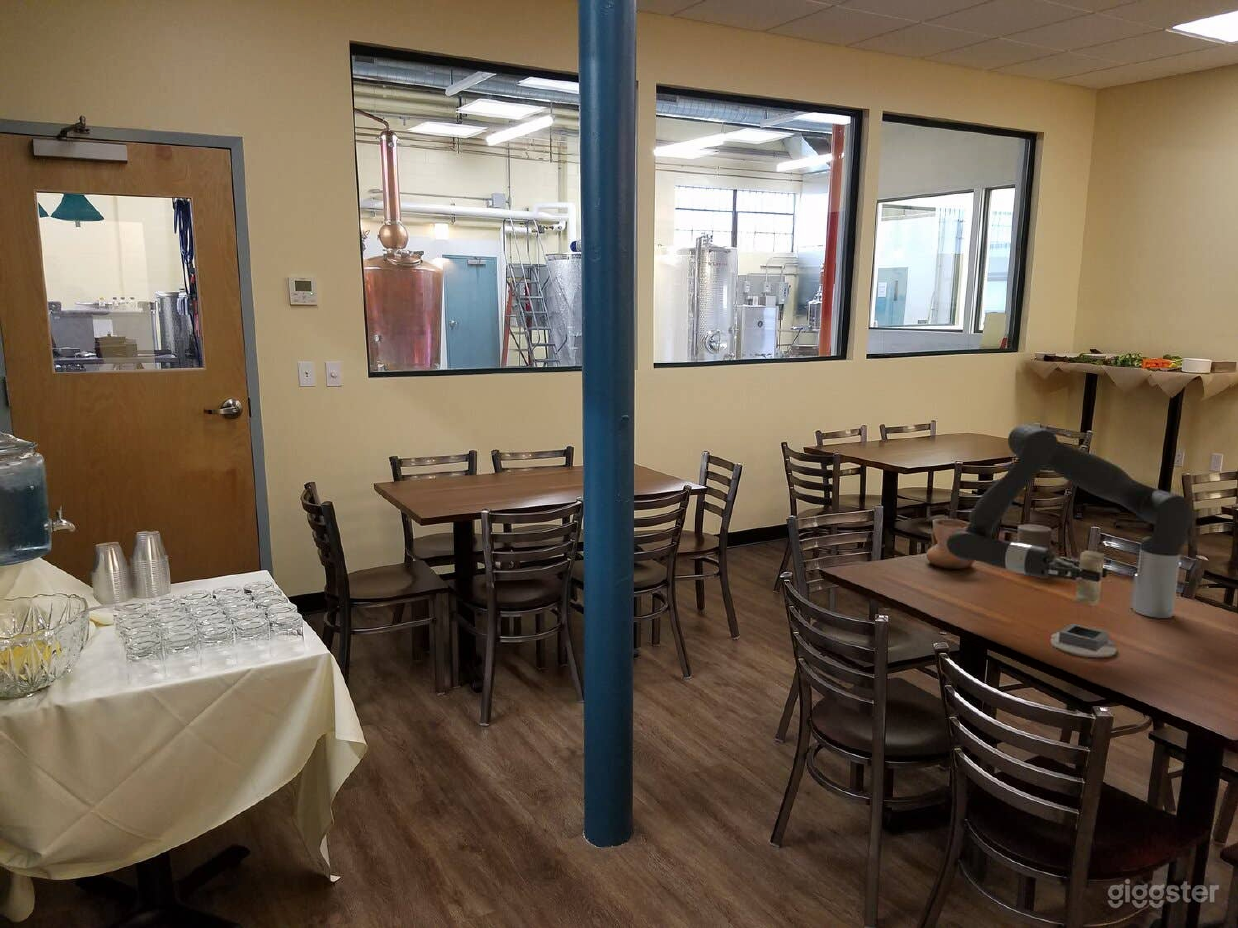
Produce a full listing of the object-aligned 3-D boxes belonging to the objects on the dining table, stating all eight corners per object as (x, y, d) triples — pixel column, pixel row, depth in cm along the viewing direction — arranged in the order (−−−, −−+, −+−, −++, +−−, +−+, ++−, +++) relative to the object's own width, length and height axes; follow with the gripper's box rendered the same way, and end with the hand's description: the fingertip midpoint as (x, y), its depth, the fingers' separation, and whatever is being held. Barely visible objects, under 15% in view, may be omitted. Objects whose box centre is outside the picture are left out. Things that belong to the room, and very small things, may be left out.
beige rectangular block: (1075, 601, 208) (1080, 553, 205) (1081, 597, 210) (1086, 550, 208) (1093, 605, 205) (1099, 556, 203) (1098, 601, 207) (1104, 553, 205)
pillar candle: (1055, 573, 268) (1059, 526, 266) (1027, 575, 266) (1032, 527, 264) (1034, 565, 278) (1038, 519, 275) (1007, 566, 275) (1011, 520, 273)
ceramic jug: (986, 572, 269) (989, 527, 267) (943, 574, 266) (947, 529, 264) (953, 557, 286) (956, 515, 284) (913, 559, 283) (916, 516, 281)
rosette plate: (1041, 645, 210) (1043, 631, 209) (1062, 631, 219) (1064, 617, 219) (1104, 662, 200) (1106, 647, 199) (1123, 647, 209) (1125, 632, 209)
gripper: (1018, 550, 211) (1095, 565, 199) (1041, 540, 220) (1115, 554, 208) (1016, 579, 212) (1091, 597, 200) (1038, 568, 222) (1111, 584, 210)
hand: (1103, 575), depth 204 cm, fingers closed on beige rectangular block, 4 cm apart
